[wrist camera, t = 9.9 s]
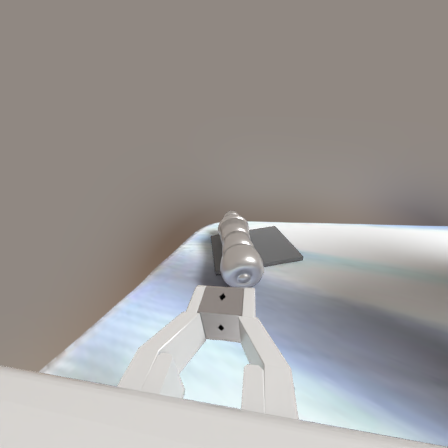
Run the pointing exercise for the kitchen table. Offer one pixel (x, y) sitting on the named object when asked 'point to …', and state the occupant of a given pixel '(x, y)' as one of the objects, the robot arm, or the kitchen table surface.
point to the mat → (263, 247)
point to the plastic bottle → (238, 253)
